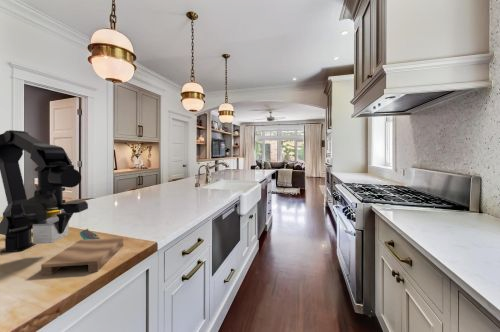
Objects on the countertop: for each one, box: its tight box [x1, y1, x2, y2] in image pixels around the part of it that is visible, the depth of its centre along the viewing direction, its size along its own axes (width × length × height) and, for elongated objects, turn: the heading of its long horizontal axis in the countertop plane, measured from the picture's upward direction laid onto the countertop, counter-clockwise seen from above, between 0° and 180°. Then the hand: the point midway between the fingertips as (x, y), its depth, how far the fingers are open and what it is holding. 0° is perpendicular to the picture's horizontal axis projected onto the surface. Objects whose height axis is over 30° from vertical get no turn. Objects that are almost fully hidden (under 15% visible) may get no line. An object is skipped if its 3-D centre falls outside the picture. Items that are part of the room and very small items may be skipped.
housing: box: [32, 217, 70, 245], centre depth 71 cm, size 8×5×6 cm, turn 9°
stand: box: [40, 237, 124, 276], centre depth 70 cm, size 18×14×3 cm
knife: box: [79, 228, 101, 240], centre depth 89 cm, size 24×1×5 cm
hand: (52, 233), depth 71 cm, fingers closed on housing, 5 cm apart
